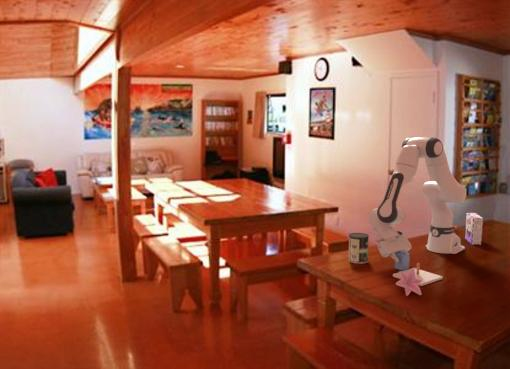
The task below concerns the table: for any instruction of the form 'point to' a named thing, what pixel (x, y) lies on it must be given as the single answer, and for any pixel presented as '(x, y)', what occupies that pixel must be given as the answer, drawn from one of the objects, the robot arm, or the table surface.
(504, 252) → the table surface
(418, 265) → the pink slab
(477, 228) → the candy box
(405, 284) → the lily
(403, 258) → the blue domed block
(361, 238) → the coffee can
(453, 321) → the table surface
